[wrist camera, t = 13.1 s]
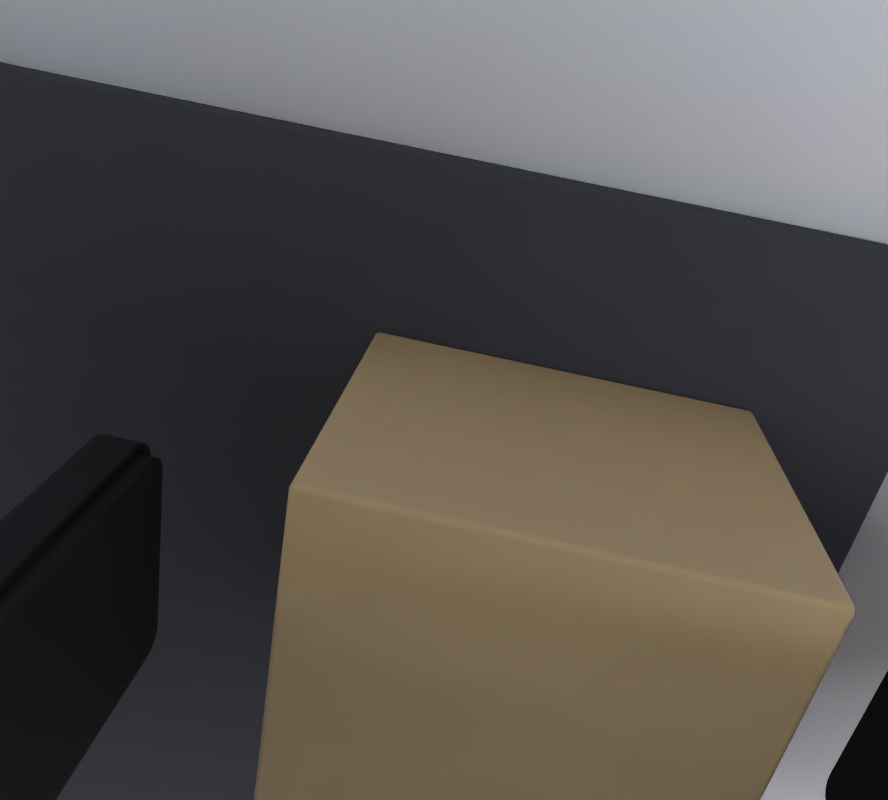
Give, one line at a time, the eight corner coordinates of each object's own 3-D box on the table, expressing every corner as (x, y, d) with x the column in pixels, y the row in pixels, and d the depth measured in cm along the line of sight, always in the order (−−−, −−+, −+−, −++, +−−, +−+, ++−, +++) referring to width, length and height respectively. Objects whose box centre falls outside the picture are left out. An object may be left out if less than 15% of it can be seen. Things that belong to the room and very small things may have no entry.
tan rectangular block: (376, 329, 11) (288, 485, 7) (753, 410, 10) (860, 610, 7) (328, 646, 13) (242, 884, 9) (635, 715, 13) (668, 984, 9)
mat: (-60, 49, 10) (-82, 50, 10) (971, 261, 10) (987, 270, 9) (13, 921, 18) (3, 939, 18) (591, 1059, 17) (592, 1081, 17)
